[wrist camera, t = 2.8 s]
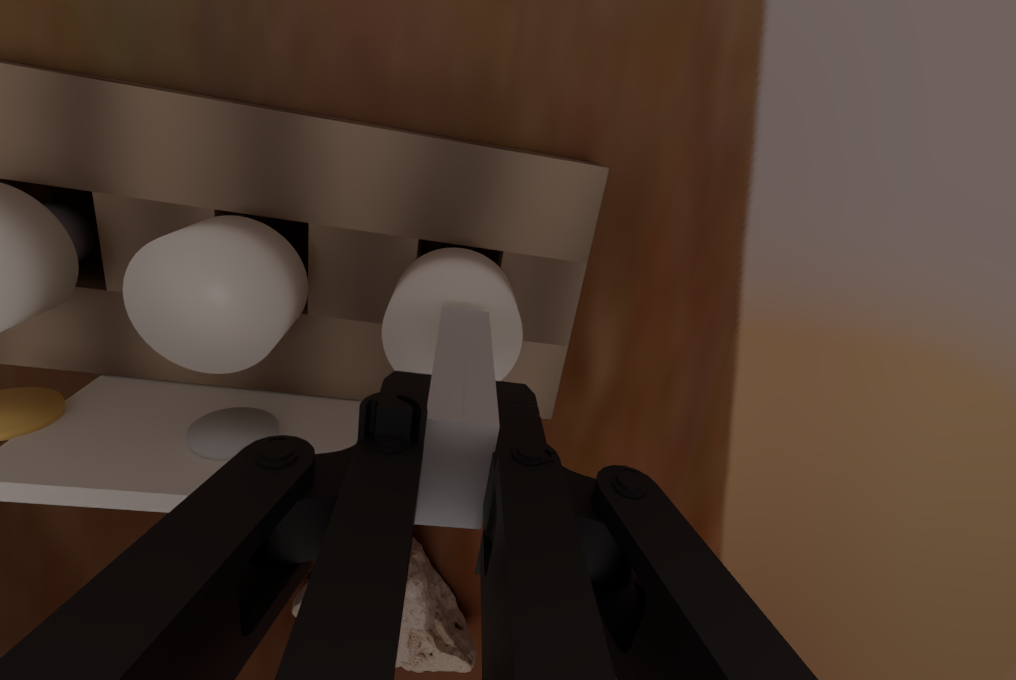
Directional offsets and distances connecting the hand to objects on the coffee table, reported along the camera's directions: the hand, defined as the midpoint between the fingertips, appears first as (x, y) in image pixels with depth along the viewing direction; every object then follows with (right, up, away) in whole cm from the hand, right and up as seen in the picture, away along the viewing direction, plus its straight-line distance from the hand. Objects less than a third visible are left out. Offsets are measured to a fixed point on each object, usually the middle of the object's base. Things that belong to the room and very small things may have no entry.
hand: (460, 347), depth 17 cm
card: (-10, -1, +10) cm, 14 cm away
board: (-9, +5, +7) cm, 12 cm away
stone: (-5, -15, +17) cm, 23 cm away
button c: (-1, +3, +6) cm, 7 cm away
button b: (-9, +4, +5) cm, 11 cm away
